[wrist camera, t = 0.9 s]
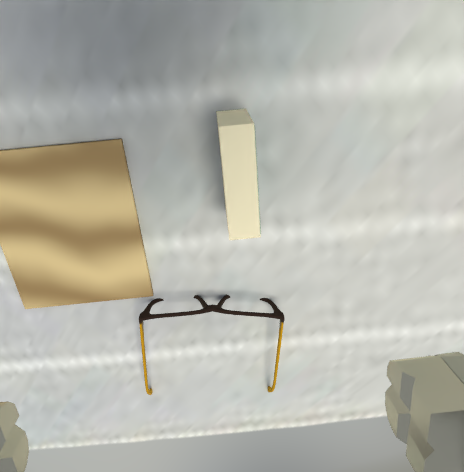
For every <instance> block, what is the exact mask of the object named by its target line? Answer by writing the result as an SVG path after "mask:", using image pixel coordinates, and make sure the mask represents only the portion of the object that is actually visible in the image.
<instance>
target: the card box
mask: <svg viewBox="0 0 464 472" xmlns="http://www.w3.org/2000/svg"><path fill="white" fill-rule="evenodd" d="M216 113H217V123H218V133H219V144H220V154H221V165H222V175H223V185H224V196H225V206H226V215H227V223H228V232H229V240H238V239H247V238H257V237H261V236H260V234H261V227H260V209H259V191H258V174H257V156H256V138H255V125H254V122H253V120H252V119H251V117H250V115H249V113H248V111H247V110H246V109H237V110H227V111H216Z"/></svg>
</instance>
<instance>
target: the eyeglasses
mask: <svg viewBox="0 0 464 472" xmlns="http://www.w3.org/2000/svg"><path fill="white" fill-rule="evenodd" d="M194 298H196V299H198V300H199V301H200V303H201V304H202V306H203V309H201V310H196V311H189V312H178V313H165V314H150V309H151V307H152V306H153V305H154V304H155V303H157V302H160V301H163V299H155V300H153V301H151V302H150V303H149V304H148V306H147V307H146V309H145V310H144V311H143V312H142V313H141V314H140V316H139V324H140V334H141V345H142V355H143V366H144V376H145V386H146V391H147V394H149V395H151V394H152V389H150V390H149V389H148V382H147V370H146V358H145V346H144V332H143V320H148V319H155V318H163V317H175V316H186V315H195V314H202V313H207V312H211V311H214V312H219V313H224V314H233V315H245V316H259V317H269V318H276V319H280V328H279V339H278V347H277V356H276V364H275V373H274V381H273V386H272V388H271V387H270V386H268V392H273V391H274V388H275V384H276V377H277V370H278V362H279V354H280V347H281V339H282V331H283V323H284V315H283V313H282V312H281V311H280V310H279V309H278V308H277V306H276V305H275V304H274V303H273V302H272V301H271V300H269V299H267V298H261V299H260V300H262V301H265V302H267V303H269V304H270V305H271V306H272V308H273V310H274V313H255V312H241V311H231V310H225V309H222V308H221V307H222V305H223V303H224V301H225V300H226V299H228V298H230V296H229V295H226V296H224V297H223V298H222V299H221V300H220V302H219V303H218V304H217V305H207V304H206V302H205V301H204V300H203V299H202V298H201V297H200V296H198V295H195V296H194Z"/></svg>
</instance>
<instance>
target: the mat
mask: <svg viewBox="0 0 464 472" xmlns="http://www.w3.org/2000/svg"><path fill="white" fill-rule="evenodd" d="M0 244H1V247H2V250H3V252H4V255H5V257H6V260H7V263H8V265H9V268H10V271H11V273H12V276H13V278H14V281H15V284H16V286H17V289H18V292H19V294H20V297H21V299H22V302H23V305H24V307H25V309H31V308H40V307H50V306H60V305H70V304H80V303H90V302H99V301H109V300H119V299H129V298H139V297H149V296H153V289H152V284H151V280H150V275H149V270H148V265H147V260H146V255H145V250H144V245H143V240H142V235H141V230H140V225H139V220H138V216H137V211H136V206H135V201H134V196H133V191H132V186H131V181H130V176H129V171H128V166H127V161H126V156H125V151H124V147H123V142H122V139H114V140H103V141H93V142H82V143H72V144H61V145H51V146H41V147H30V148H20V149H9V150H0Z"/></svg>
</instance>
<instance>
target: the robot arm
mask: <svg viewBox="0 0 464 472" xmlns="http://www.w3.org/2000/svg"><path fill="white" fill-rule="evenodd" d="M387 377H388V379H389V380H390V382H391V384H392V385H391V386H390V387H389V388H388V389H387V391H386V392H385V406H386V412H387V417H388V420H389V423H390V425H391V428H392V430H393V432H394V434H395V436H396V437H397V438H398V439H400V440H401V441H403V442H404V443H406V444H407V450H406V456H407V458H408V460H409V462H410V464H411V466H412V468H413V469H414V471H415V472H464V354H462V353H459V352H453V353H445V354H438V355H435V356H425V357H416V358H407V359H399V360H390V362H389V364H388V366H387ZM18 417H19V413H18V411H17V409H16V406H15V404H14V403H11V402H0V472H24V471H25V468H26V465H27V459H28V453H29V447H28V439H27V436H26V433H25V431H24V430H22V429H21V428H20V427H18V426H17V425H15V423H16V421H17V419H18Z"/></svg>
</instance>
